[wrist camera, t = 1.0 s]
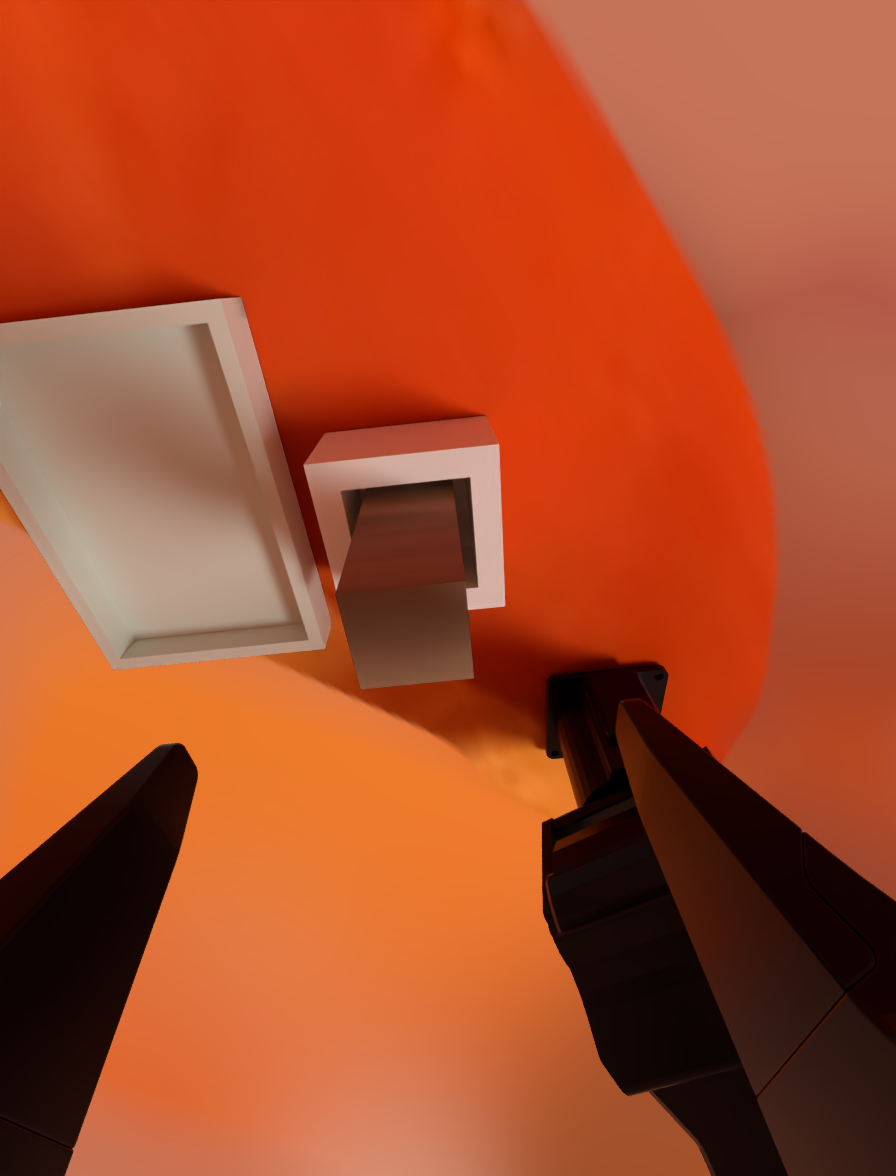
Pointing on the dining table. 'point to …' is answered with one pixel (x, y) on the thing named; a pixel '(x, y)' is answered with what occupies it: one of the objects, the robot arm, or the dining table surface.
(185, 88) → the dining table surface
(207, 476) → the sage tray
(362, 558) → the walnut peg
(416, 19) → the dining table surface
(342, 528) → the peg holder
